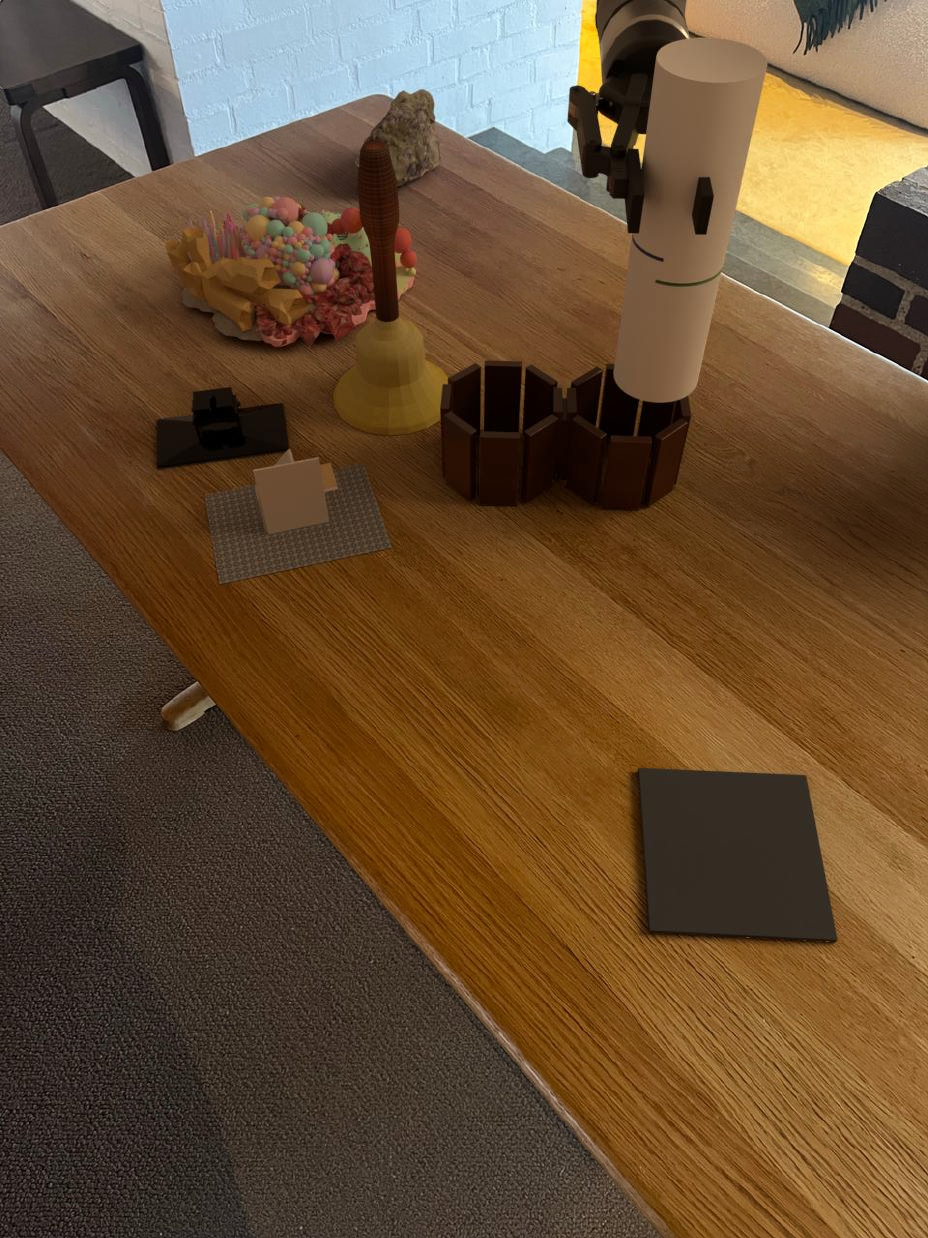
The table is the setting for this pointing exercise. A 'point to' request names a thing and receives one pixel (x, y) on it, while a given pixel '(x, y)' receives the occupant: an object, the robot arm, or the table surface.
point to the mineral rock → (409, 135)
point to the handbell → (386, 324)
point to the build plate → (220, 430)
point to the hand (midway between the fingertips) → (670, 214)
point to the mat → (732, 856)
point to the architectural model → (294, 519)
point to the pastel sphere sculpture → (284, 272)
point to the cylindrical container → (685, 211)
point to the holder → (557, 437)
